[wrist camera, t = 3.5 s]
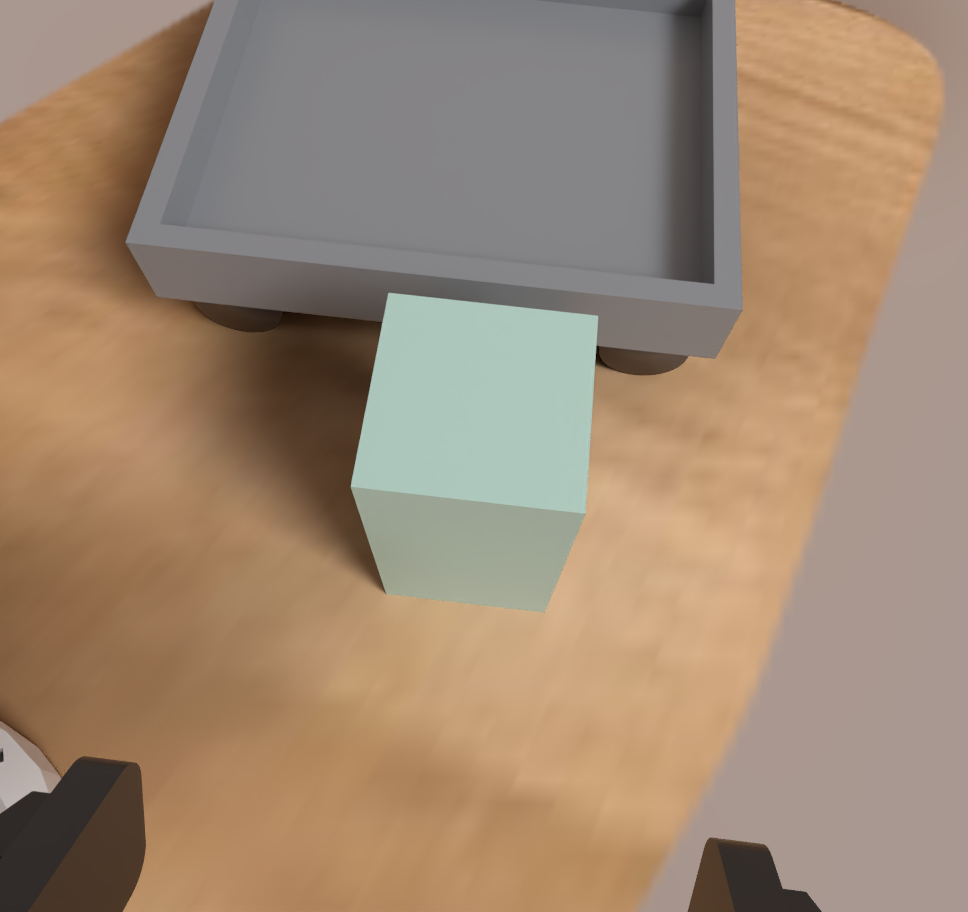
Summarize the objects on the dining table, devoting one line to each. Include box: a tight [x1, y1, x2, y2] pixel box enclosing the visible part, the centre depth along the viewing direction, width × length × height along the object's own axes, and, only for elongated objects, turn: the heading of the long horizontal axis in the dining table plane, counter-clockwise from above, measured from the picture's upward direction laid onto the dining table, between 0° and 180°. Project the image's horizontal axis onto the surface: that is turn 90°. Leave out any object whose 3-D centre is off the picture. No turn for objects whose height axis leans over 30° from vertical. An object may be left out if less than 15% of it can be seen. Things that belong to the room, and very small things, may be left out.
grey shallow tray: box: [125, 0, 742, 375], centre depth 29 cm, size 18×15×6 cm
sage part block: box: [351, 293, 598, 613], centre depth 22 cm, size 5×5×9 cm
